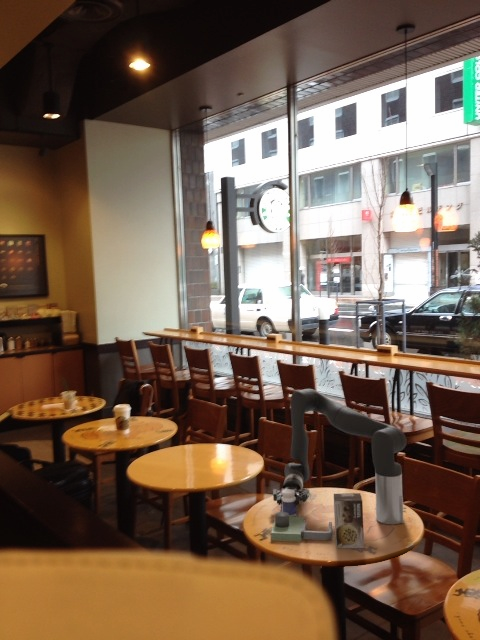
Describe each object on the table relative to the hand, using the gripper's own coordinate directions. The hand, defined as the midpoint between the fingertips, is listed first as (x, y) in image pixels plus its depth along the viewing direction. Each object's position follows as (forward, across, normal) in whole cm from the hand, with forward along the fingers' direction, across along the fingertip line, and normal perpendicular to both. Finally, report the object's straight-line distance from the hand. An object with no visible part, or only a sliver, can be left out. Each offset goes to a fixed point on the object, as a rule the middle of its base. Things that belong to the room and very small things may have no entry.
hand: (287, 502), depth 212 cm
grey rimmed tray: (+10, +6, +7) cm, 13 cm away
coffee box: (+17, +22, +7) cm, 28 cm away
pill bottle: (-2, 0, +7) cm, 7 cm away
